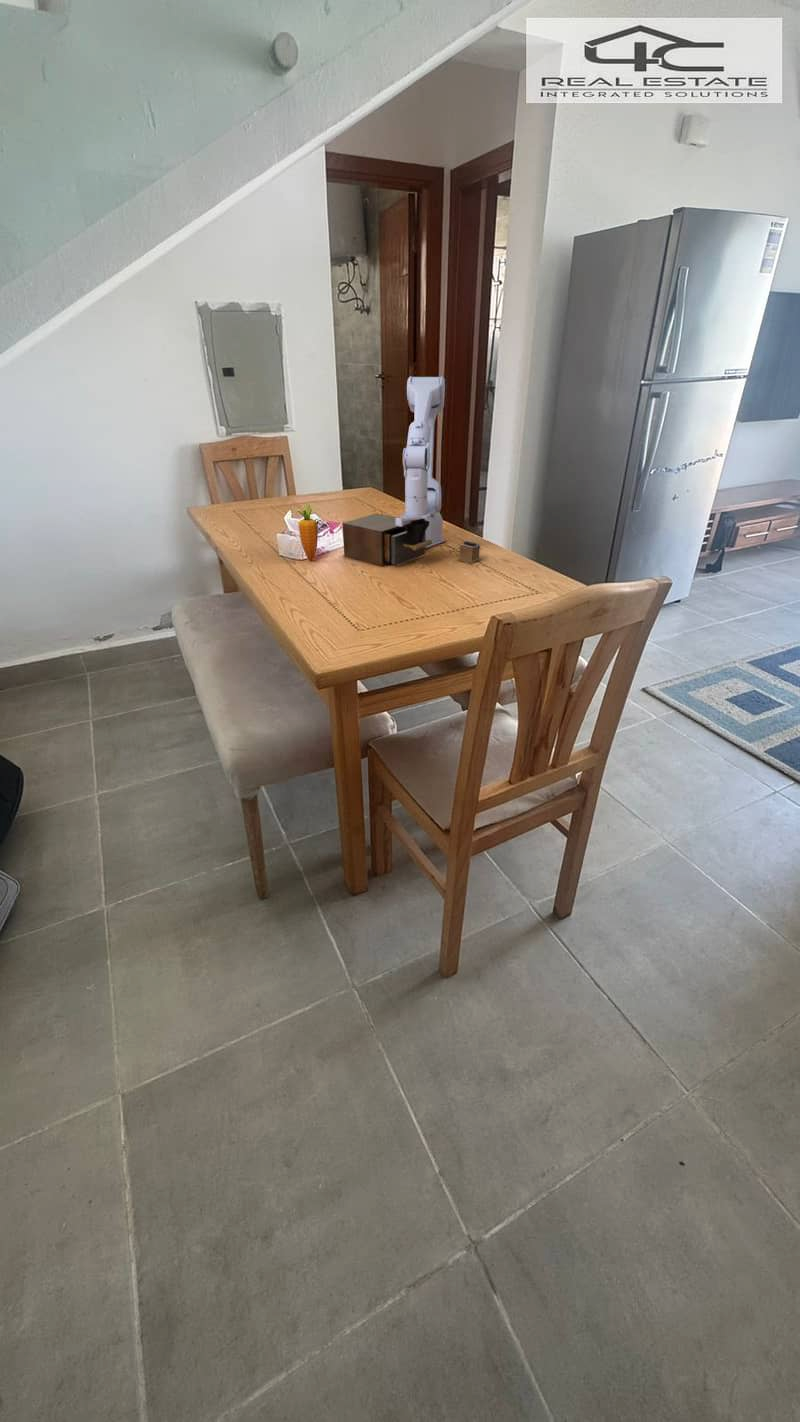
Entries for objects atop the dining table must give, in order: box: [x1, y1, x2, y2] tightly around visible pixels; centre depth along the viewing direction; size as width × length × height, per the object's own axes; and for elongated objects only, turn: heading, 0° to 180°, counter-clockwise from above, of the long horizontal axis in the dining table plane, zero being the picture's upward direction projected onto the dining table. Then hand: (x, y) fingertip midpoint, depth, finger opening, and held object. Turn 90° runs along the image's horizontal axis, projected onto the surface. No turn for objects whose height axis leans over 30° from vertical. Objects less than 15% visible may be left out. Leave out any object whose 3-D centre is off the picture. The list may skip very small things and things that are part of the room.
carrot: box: [297, 503, 319, 562], centre depth 164 cm, size 5×5×15 cm
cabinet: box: [342, 512, 404, 567], centre depth 170 cm, size 14×14×9 cm
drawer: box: [383, 527, 432, 566], centre depth 166 cm, size 18×13×8 cm
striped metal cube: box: [459, 540, 481, 564], centre depth 167 cm, size 4×4×5 cm
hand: (415, 548), depth 163 cm, fingers closed, pressing on drawer
